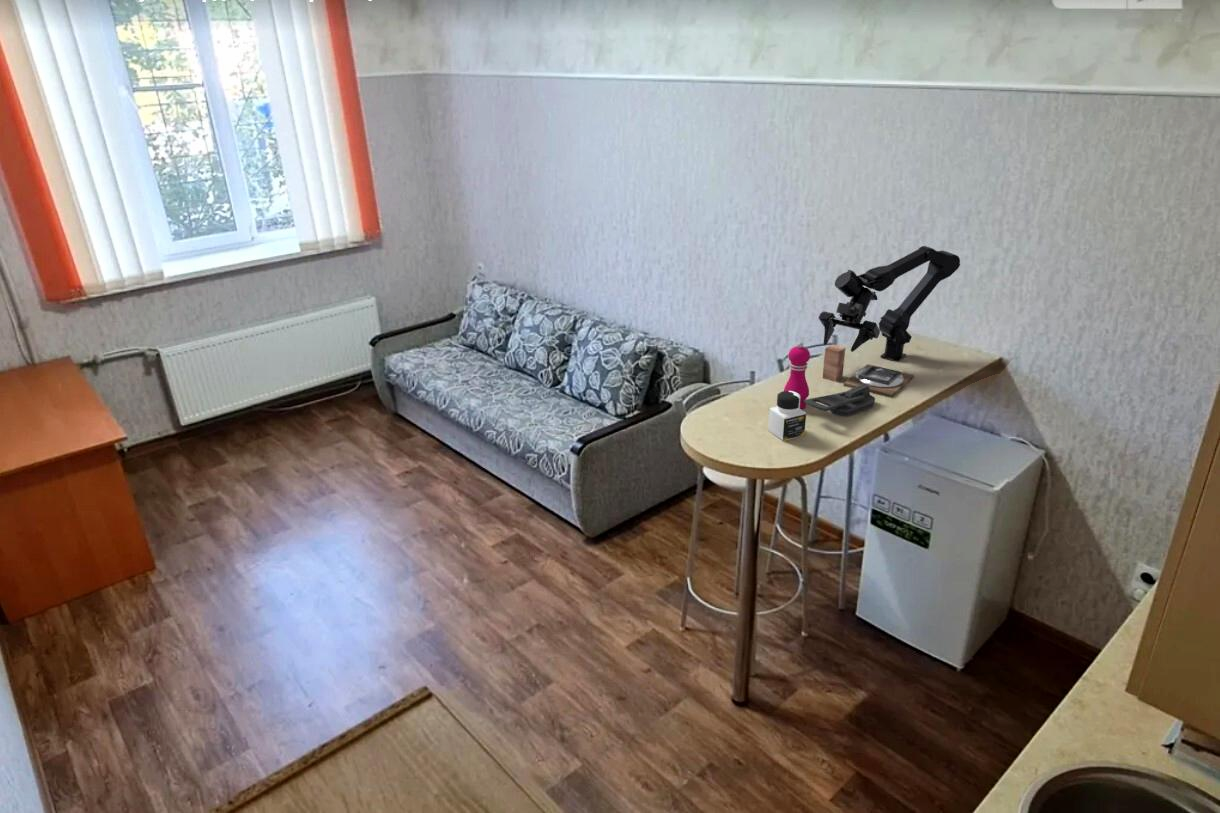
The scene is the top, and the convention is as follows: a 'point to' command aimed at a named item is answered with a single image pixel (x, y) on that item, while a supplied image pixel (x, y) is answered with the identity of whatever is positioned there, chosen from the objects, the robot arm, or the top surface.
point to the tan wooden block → (833, 362)
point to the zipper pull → (845, 401)
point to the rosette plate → (879, 377)
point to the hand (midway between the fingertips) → (837, 347)
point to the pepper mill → (798, 372)
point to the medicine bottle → (787, 417)
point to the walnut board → (886, 392)
